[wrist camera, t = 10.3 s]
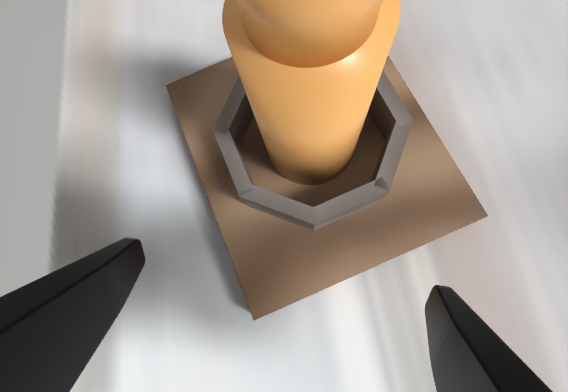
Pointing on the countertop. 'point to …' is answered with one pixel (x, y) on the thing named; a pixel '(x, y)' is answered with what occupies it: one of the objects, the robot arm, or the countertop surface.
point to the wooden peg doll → (310, 75)
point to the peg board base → (319, 190)
